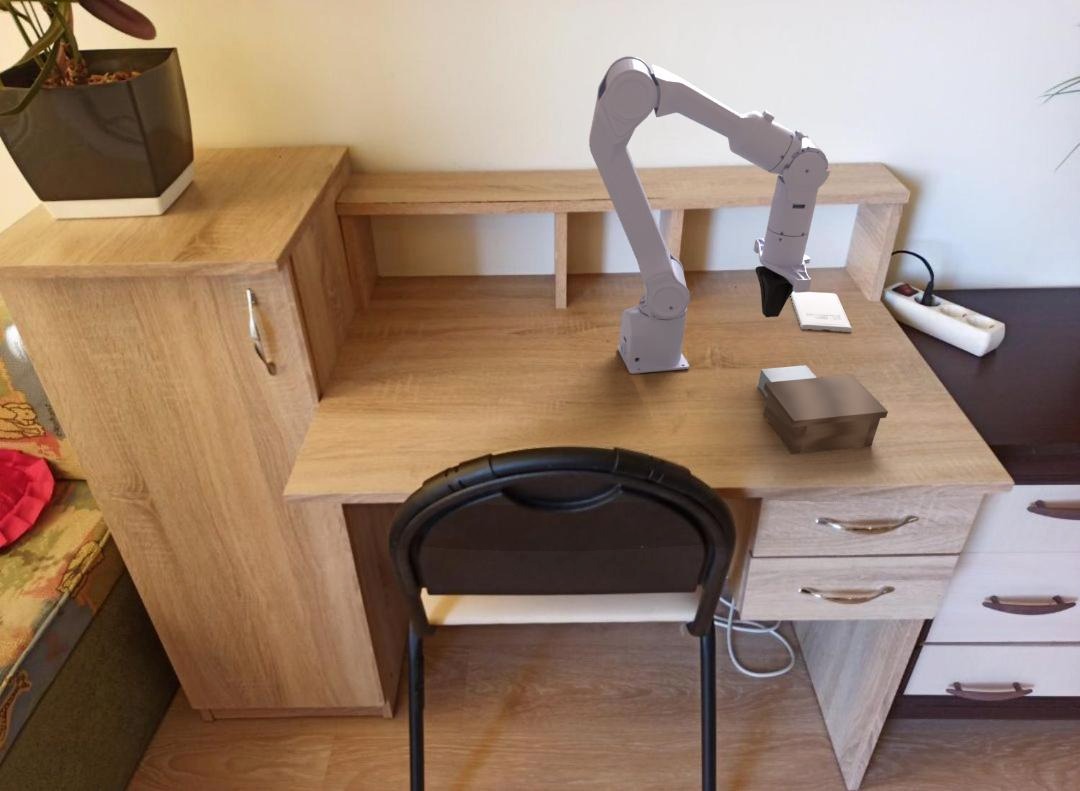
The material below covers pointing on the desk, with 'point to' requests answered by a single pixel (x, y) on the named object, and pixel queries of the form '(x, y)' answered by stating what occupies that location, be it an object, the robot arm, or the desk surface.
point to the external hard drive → (820, 311)
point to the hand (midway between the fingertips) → (770, 314)
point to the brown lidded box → (822, 413)
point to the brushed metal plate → (783, 375)
